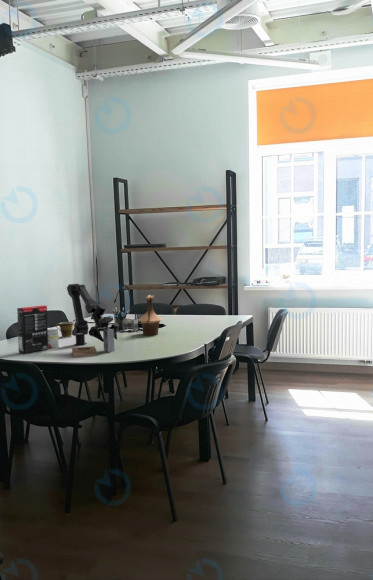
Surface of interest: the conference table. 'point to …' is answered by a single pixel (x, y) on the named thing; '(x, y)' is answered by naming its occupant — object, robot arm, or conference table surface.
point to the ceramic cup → (66, 328)
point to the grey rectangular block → (108, 340)
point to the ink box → (53, 337)
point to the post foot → (84, 351)
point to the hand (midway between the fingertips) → (110, 340)
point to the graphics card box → (32, 329)
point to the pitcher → (150, 319)
